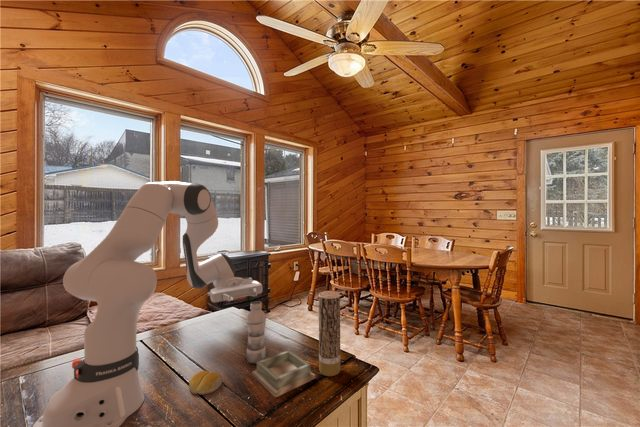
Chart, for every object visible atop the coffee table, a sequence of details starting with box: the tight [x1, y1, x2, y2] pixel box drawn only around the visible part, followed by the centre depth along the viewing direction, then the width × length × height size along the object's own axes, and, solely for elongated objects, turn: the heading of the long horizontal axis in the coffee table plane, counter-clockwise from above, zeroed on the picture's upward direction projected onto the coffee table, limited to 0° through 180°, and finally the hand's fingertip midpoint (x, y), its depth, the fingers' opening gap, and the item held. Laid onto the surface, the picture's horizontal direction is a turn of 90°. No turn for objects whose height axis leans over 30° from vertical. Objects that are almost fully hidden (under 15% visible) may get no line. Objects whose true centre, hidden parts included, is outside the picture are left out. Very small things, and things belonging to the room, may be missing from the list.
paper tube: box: [318, 290, 341, 377], centre depth 92 cm, size 7×7×25 cm
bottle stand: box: [251, 349, 316, 398], centre depth 90 cm, size 14×14×4 cm
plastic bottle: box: [245, 300, 267, 364], centre depth 99 cm, size 6×7×20 cm
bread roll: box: [188, 370, 223, 396], centre depth 85 cm, size 8×9×4 cm
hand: (243, 296), depth 109 cm, fingers open, 8 cm apart
